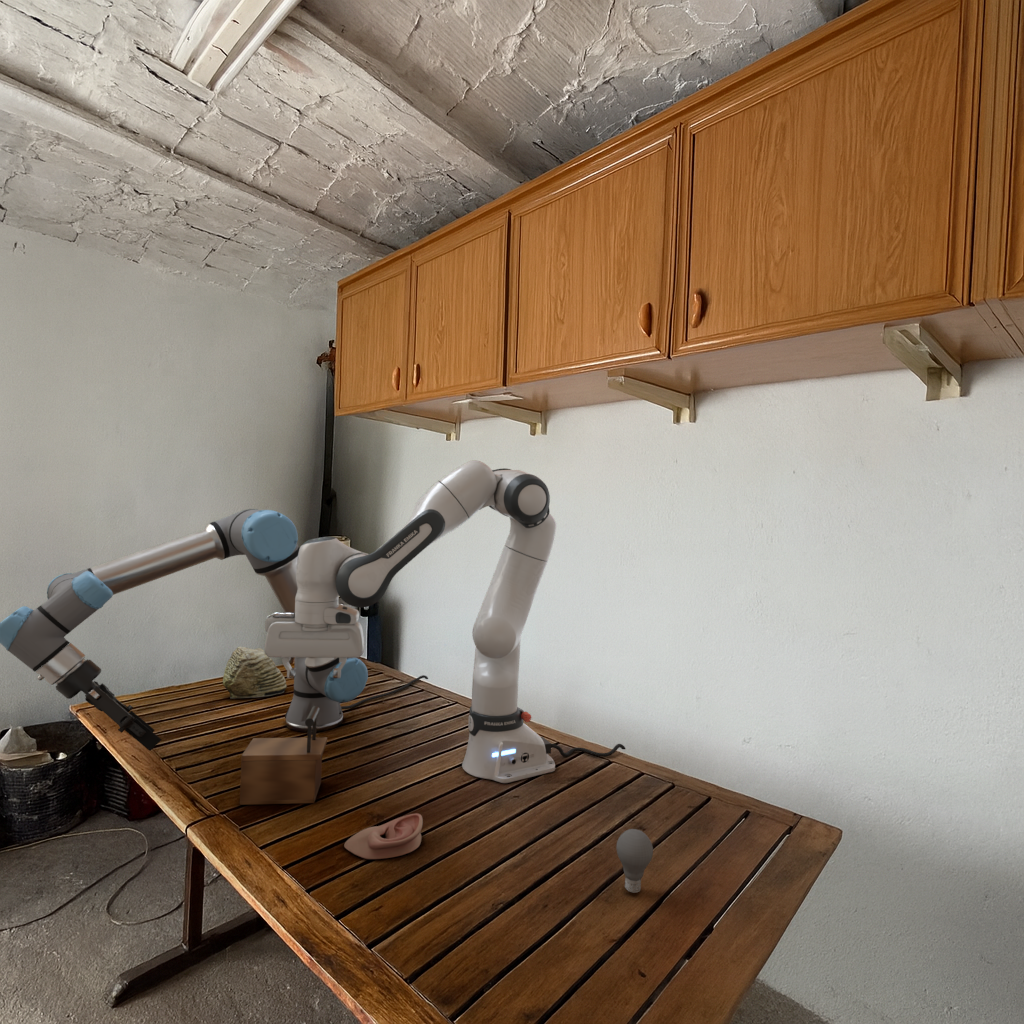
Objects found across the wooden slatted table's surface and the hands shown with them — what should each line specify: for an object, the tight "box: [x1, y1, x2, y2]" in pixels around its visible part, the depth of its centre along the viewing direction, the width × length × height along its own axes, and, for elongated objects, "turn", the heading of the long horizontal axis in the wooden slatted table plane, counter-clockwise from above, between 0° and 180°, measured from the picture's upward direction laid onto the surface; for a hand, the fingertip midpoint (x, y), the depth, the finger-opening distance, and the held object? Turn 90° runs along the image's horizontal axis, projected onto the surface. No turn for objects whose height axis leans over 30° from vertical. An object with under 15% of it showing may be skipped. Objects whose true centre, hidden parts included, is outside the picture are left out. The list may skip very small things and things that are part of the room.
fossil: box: [222, 646, 288, 699], centre depth 198 cm, size 9×18×15 cm, turn 132°
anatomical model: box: [343, 813, 424, 860], centre depth 117 cm, size 13×4×12 cm
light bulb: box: [615, 828, 654, 894], centre depth 106 cm, size 6×6×10 cm
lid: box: [240, 706, 328, 761], centre depth 134 cm, size 16×9×8 cm, turn 99°
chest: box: [239, 756, 323, 806], centre depth 134 cm, size 15×9×9 cm, turn 98°
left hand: (152, 740), depth 132 cm, fingers open, 13 cm apart
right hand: (314, 677), depth 135 cm, fingers open, 8 cm apart
